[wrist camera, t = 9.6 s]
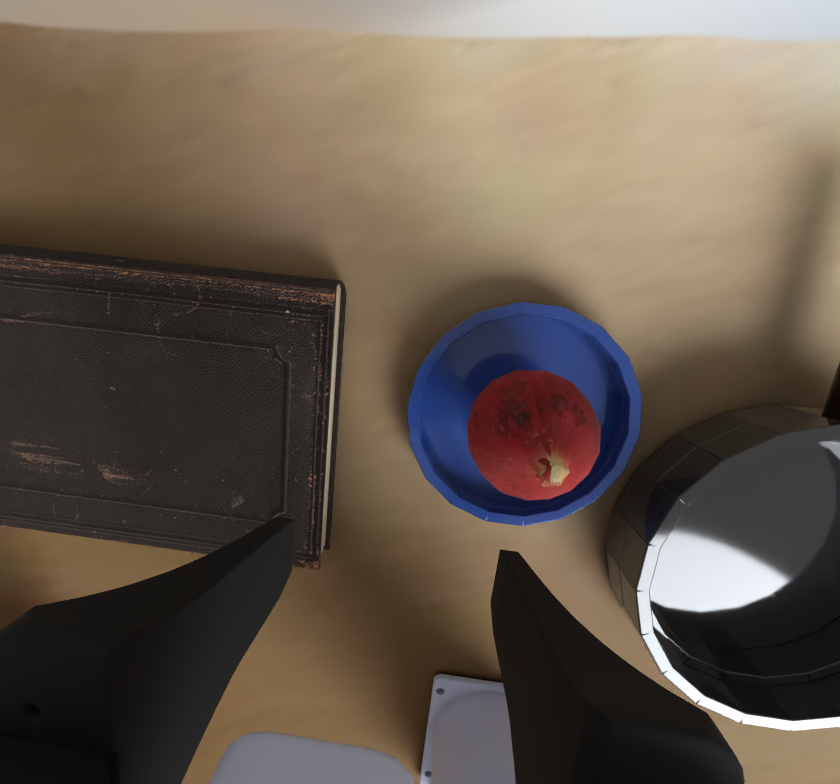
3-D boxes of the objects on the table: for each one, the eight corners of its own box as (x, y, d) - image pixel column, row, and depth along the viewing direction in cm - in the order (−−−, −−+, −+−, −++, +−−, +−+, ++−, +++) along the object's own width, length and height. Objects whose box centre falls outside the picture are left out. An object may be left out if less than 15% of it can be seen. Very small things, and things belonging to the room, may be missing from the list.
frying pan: (851, 679, 24) (931, 752, 20) (580, 640, 24) (606, 703, 20) (957, 423, 20) (1080, 450, 16) (639, 387, 21) (683, 404, 17)
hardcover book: (330, 546, 24) (318, 570, 22) (-17, 498, 25) (-63, 517, 23) (347, 282, 21) (335, 278, 19) (-54, 239, 22) (-112, 231, 20)
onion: (446, 387, 21) (446, 431, 14) (544, 342, 20) (606, 361, 13) (489, 477, 22) (512, 567, 14) (585, 437, 21) (666, 510, 14)
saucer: (602, 521, 23) (615, 538, 21) (400, 494, 23) (396, 509, 21) (648, 317, 20) (668, 317, 18) (421, 292, 21) (418, 290, 19)
